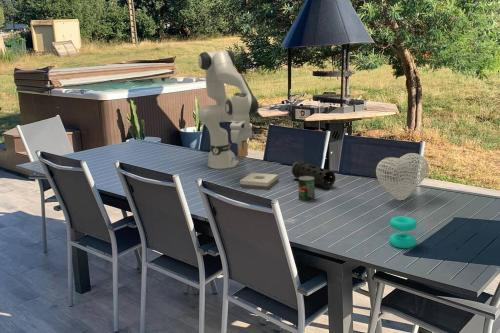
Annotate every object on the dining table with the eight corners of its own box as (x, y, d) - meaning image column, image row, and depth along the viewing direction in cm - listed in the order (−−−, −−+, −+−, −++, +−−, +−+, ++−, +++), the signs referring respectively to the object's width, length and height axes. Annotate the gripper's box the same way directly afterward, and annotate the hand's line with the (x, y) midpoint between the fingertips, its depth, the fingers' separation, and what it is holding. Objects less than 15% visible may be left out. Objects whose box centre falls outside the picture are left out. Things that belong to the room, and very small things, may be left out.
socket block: (251, 179, 298) (251, 172, 297) (278, 181, 292) (278, 174, 291) (240, 187, 283) (239, 180, 282) (267, 190, 277) (267, 182, 276)
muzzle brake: (321, 191, 272) (321, 172, 270) (290, 179, 295) (289, 162, 293) (335, 188, 277) (336, 169, 274) (303, 177, 300) (303, 159, 298)
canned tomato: (317, 198, 260) (317, 176, 258) (310, 202, 254) (310, 180, 251) (302, 196, 264) (302, 175, 262) (295, 200, 258) (295, 178, 255)
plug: (241, 154, 289) (240, 138, 287) (247, 155, 287) (247, 138, 285) (238, 156, 285) (237, 139, 283) (244, 156, 284) (244, 139, 282)
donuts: (418, 216, 201) (416, 225, 192) (417, 240, 203) (415, 250, 194) (391, 214, 204) (388, 222, 195) (390, 238, 207) (387, 247, 198)
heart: (392, 210, 239) (394, 163, 233) (368, 202, 252) (369, 157, 246) (433, 199, 253) (436, 154, 248) (408, 191, 266) (410, 149, 261)
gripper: (244, 120, 293) (245, 144, 296) (228, 125, 274) (229, 151, 278) (254, 120, 290) (255, 145, 293) (239, 126, 272) (240, 152, 275)
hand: (242, 148), depth 285 cm, fingers closed on plug, 4 cm apart
